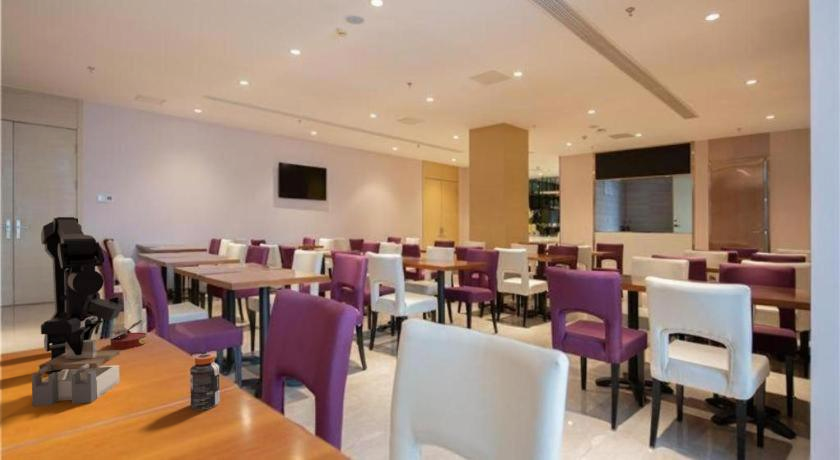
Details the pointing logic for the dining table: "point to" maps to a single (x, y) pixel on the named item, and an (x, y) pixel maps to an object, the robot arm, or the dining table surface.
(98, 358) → the grey tabbed base plate
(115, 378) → the grey notched open box
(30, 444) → the dining table surface
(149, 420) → the dining table surface
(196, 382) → the pill bottle
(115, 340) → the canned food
